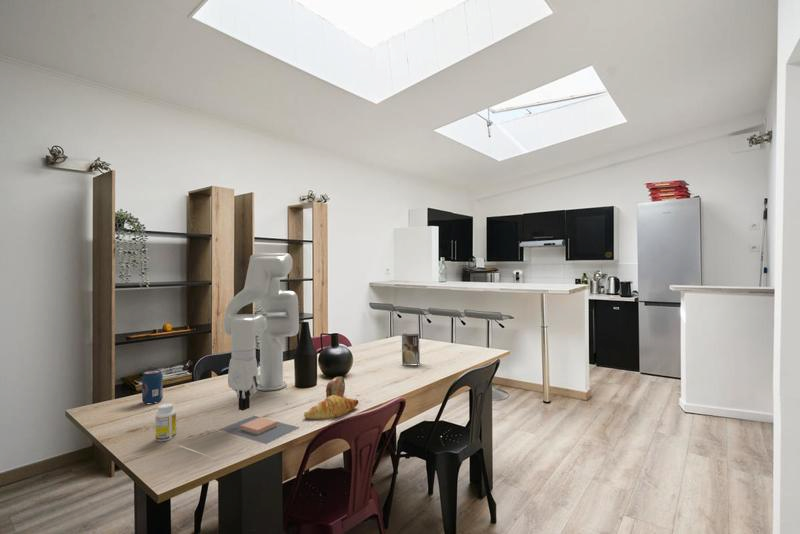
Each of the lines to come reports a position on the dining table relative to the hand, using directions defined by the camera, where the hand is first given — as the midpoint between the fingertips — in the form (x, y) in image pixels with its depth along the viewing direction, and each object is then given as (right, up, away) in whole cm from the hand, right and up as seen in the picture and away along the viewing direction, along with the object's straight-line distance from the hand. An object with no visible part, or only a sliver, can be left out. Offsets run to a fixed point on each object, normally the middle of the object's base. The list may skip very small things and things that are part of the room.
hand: (244, 408), depth 136 cm
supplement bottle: (-20, -6, -10) cm, 23 cm away
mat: (+7, -5, -4) cm, 9 cm away
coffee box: (+58, -5, +83) cm, 101 cm away
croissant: (+28, -6, +10) cm, 30 cm away
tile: (+3, -4, -2) cm, 5 cm away
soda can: (-45, -6, +24) cm, 52 cm away
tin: (+27, -5, +25) cm, 37 cm away
